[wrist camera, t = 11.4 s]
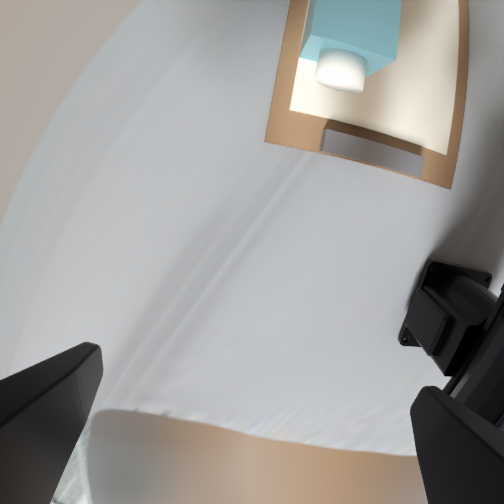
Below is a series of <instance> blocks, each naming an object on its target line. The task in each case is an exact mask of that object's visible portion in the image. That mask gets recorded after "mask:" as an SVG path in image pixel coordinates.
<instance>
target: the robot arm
mask: <svg viewBox="0 0 504 504" xmlns="http://www.w3.org/2000/svg"><path fill="white" fill-rule="evenodd" d="M433 265H434V268H433V269H432V270H430V269H431V267H432V266H433ZM486 277H487V278H486ZM485 278H486V279H485ZM491 280H492V275H491V274H490V273H489V272H487V271H484V270H479V269H475V268H470V267H466V266H461V265H457V264H452V263H447V262H442V261H438V260H429V261H428V262H427V263H426V265H425V267H424V270H423V273H422V276H421V279H420V282H419V285H418V288H417V290H416V291H415V294H414V297H413V299H412V302H411V305H410V307H409V310H408V312H407V315H406V318H405V320H404V325H403V327H402V330H401V332H400V334H399V337H398V341H399V343H400V344H401V345H402V346H414V347H422V348H423V350H424V351H425V353H426V354H427V355H428V356H431V357H432V359H433V360H434V362H435V363H436V365H437V366H438V367H439V369H440V370H441V372H442V373H443V375H444V376H450V377H451V379H450V380H449V382H448V383H447V385H446V386H445V387H444V389H443V390H441V389H439V388H438V387H436V386H425V387H423V388H422V389H421V390H420V392H419V394H418V395H417V397H416V399H415V401H414V402H413V404H412V406H411V409H410V416H411V422H412V427H413V434H414V440H415V446H416V452H417V457H418V462H419V466H420V470H421V474H422V478H423V482H424V486H425V490H426V496H427V500H428V504H504V284H503V286H502V288H501V291H502V292H501V294H500V296H499V298H498V297H497V296H496V295H494V294H493V293H492V292H491V291H489V290H488V288H489V285H490V283H491ZM406 337H407V338H406ZM404 338H406V339H405V340H404ZM102 376H103V362H102V353H101V348H100V346H99V345H97V344H94V343H90V342H84V343H81V344H79V345H77V346H75V347H73V348H70V349H68V350H66V351H64V352H62V353H60V354H57V355H55V356H53V357H51V358H49V359H46V360H44V361H42V362H40V363H38V364H35V365H33V366H31V367H29V368H26V369H24V370H22V371H20V372H18V373H15V374H13V375H11V376H9V377H7V378H4V379H2V380H0V504H50V502H51V500H52V497H53V495H54V492H55V490H56V488H57V485H58V483H59V481H60V478H61V476H62V474H63V472H64V469H65V467H66V465H67V463H68V460H69V458H70V456H71V454H72V452H73V449H74V447H75V445H76V443H77V441H78V439H79V437H80V434H81V432H82V430H83V428H84V426H85V424H86V421H87V419H88V416H89V413H90V410H91V407H92V404H93V401H94V399H95V396H96V393H97V390H98V387H99V385H100V382H101V379H102Z"/></svg>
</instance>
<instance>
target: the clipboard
mask: <svg viewBox="0 0 504 504" xmlns="http://www.w3.org/2000/svg"><path fill="white" fill-rule="evenodd" d="M308 5H309V0H291V1H290V6H289V11H288V17H287V22H286V27H285V33H284V38H283V43H282V49H281V54H280V59H279V65H278V70H277V75H276V81H275V86H274V92H273V97H272V103H271V108H270V113H269V119H268V124H267V130H266V135H265V141H264V142H268V143H273V144H278V145H284V146H289V147H294V148H299V149H304V150H308V151H313V152H318V153H322V154H326V155H331V156H335V157H339V158H343V159H348V160H352V161H356V162H359V163H363V164H367V165H371V166H375V167H378V168H382V169H386V170H389V171H393V172H396V173H400V174H403V175H406V176H410V177H413V178H416V179H419V180H423V181H426V182H429V183H432V184H435V185H438V186H441V187H444V188H447V189H450V190H451V186H452V182H453V177H454V172H455V167H456V162H457V157H458V151H459V145H460V139H461V132H462V125H463V118H464V109H465V100H466V90H467V77H468V58H469V8H468V0H402V1H401V15H400V27H399V38H398V47H397V56H396V61H394V62H392V63H390V64H389V65H387V66H385V67H383V68H381V69H380V70H378V71H376V72H374V73H373V74H371V75H369V76H366V75H365V81H364V87H363V92H361V93H347V92H341V91H336V90H332V89H329V88H326V87H323V86H321V85H319V84H317V83H316V82H315V75H316V69H317V64H318V62H316V61H312V60H307V59H303V58H299V54H300V49H301V43H302V38H303V33H304V27H305V22H306V16H307V11H308Z"/></svg>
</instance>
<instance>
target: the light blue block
mask: <svg viewBox="0 0 504 504" xmlns="http://www.w3.org/2000/svg"><path fill="white" fill-rule="evenodd" d="M401 1H402V0H309V5H308V11H307V16H306V22H305V27H304V33H303V38H302V43H301V49H300V54H299V58H303V59H307V60H312V61H316V62H318V64H317V69H316V75H315V82H316V83H317V84H319V85H321V86H323V87H326V88H329V89H332V90H336V91H341V92H347V93H361V92H363V87H364V81H365V75H366V76H369V75H371V74H373V73H374V72H376V71H378V70H380V69H381V68H383V67H385V66H387V65H389V64H390V63H392V62H394V61H396V56H397V47H398V38H399V27H400V15H401Z"/></svg>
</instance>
